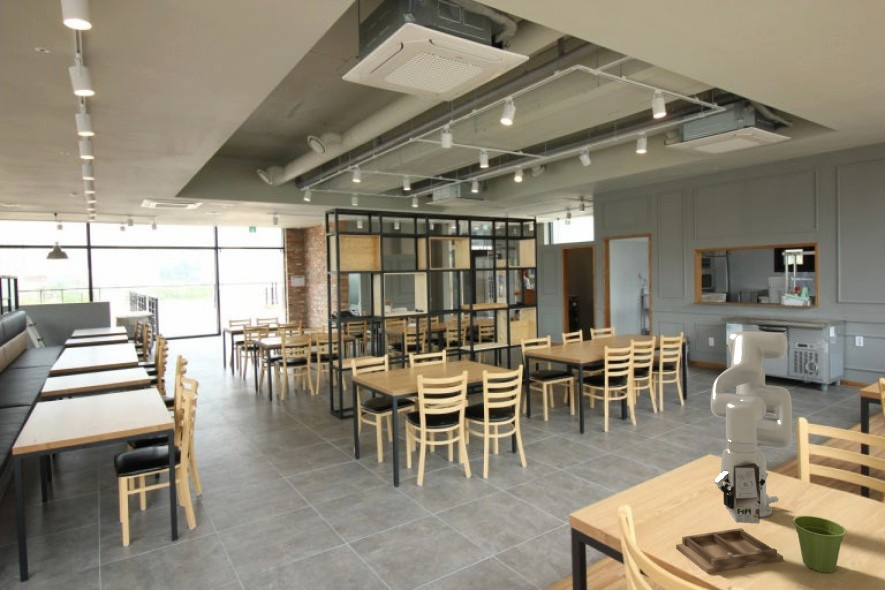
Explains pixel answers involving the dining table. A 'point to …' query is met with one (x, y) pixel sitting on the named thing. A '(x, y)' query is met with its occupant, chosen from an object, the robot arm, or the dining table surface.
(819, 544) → the plant pot
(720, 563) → the divided wooden tray
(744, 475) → the coffee box
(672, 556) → the dining table surface
